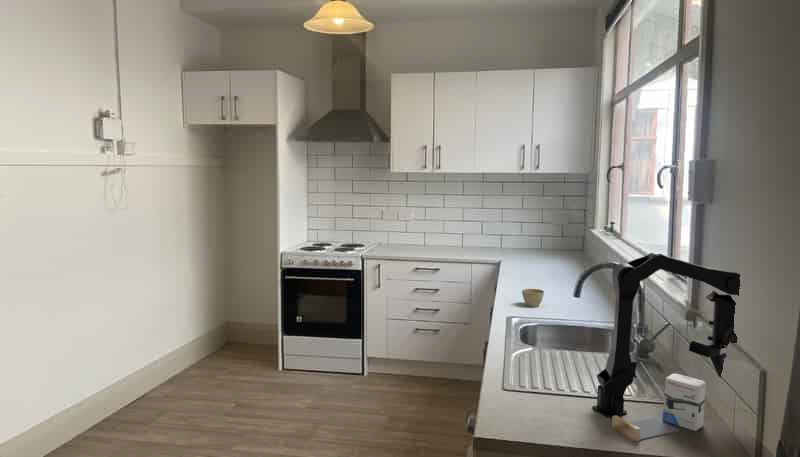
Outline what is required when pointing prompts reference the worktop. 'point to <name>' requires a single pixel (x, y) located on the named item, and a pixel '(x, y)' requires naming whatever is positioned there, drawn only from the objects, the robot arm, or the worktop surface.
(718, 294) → the robot arm
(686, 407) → the ink box
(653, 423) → the felt mat
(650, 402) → the worktop surface
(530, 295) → the flower pot
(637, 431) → the rail
